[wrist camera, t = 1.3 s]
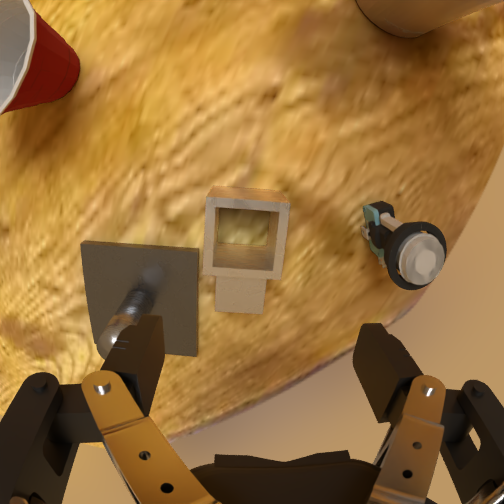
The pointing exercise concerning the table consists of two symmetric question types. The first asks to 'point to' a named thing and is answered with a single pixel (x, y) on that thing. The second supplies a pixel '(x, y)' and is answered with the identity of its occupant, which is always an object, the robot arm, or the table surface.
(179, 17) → the table surface
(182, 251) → the gray square plate
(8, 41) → the plastic cup
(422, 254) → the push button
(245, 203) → the grey hollow block
